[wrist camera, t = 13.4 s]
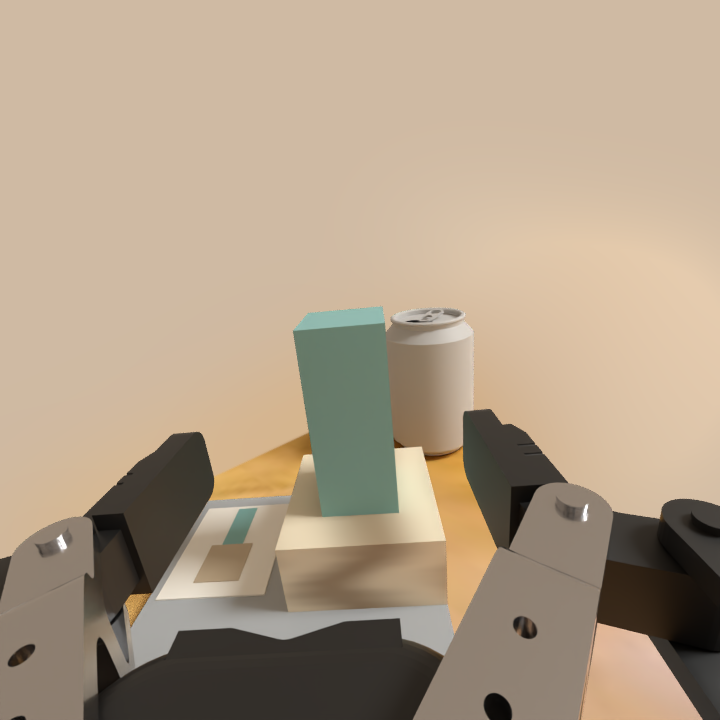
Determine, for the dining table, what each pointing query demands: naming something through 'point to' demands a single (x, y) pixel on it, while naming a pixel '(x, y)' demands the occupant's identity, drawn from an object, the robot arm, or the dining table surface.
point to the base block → (364, 547)
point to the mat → (250, 586)
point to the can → (430, 378)
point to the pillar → (349, 410)
